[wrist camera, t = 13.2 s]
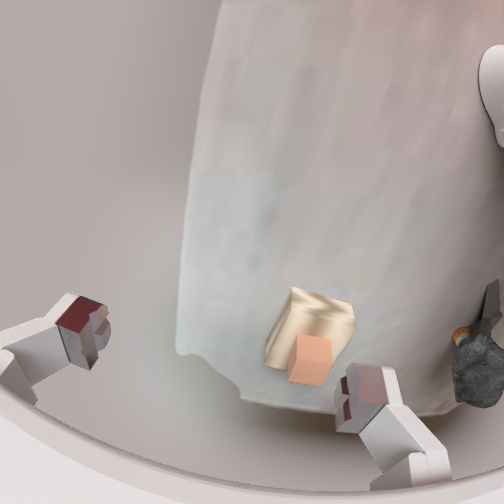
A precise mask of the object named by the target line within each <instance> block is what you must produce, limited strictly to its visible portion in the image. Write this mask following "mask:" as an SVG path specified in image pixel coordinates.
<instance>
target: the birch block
mask: <svg viewBox="0 0 504 504" xmlns="http://www.w3.org/2000/svg"><path fill="white" fill-rule="evenodd" d="M356 329H357V328H356V323H355V319H354V314H353V310H352V306H351V304H348V303H345V302H341V301H338V300H335V299H331V298H328V297H325V296H321V295H318V294H315V293H312V292H308V291H305V290H302V289H299V288H295V287H291V289H290V292H289V294H288V296H287V298H286V300H285V302H284V305H283V307H282V309H281V311H280V313H279V315H278V318H277V320H276V322H275V324H274V326H273V328H272V330H271V332H270V335H269V337H268V339H267V341H266V350H265V358H264V365H266V366H269V367H273V368H277V369H281V370H285V371H288V357H289V354H290V351H291V349H292V346H293V343H294V341H295V338H296V335H297V334H303V335H309V336H315V337H321V338H327V339H330V340H331V349H332V359H333V362H334V361H335V359H336V358H337V357H338V355H339V354H340V352H341V351H342V350H343V348H344V347H345V345H346V344H347V342H348V341H349V339H350V338H351V336H352V335H353V333H354V332H355V330H356Z"/></svg>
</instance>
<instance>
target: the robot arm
mask: <svg viewBox="0 0 504 504" xmlns="http://www.w3.org/2000/svg"><path fill="white" fill-rule="evenodd" d="M479 84H480V91H481V96H482V99H483V102H484V105H485V108H486V110H487V112H488V114H489V116H490V118H491V120H492V122H493V124H494V128H495V134H496V139H497V142H498V144H499V146H500V147H502V148H504V45H495V46H493V47H491V48H489V49H488V50H487V51H486V52H485V54H484V56H483V58H482V60H481V64H480V69H479ZM107 315H108V308H107V306H106V305H104V304H102V303H99V302H96V301H93V300H91V299H88V298H86V297H83V296H80V295H78V294H75V293H73V292H69V293H67V294H65V295H64V297H63V298H62V299H61V300H60V301H59V302H58V303H57V304H56V305H55V306H54V307H53V308H52V309H51V310H50V312H48V314H47V315H46V316H45V317H44V318H40V317H39V318H37V319H34V320H31V321H28V322H26V323H23V324H20V325H17V326H15V327H12V328H9V329H6V330H4V331H1V332H0V504H504V466H503V467H500V468H497V469H494V470H491V471H487V472H484V473H480V474H477V475H473V476H469V477H465V478H460V479H456V480H452V474H451V469H450V464H449V459H448V455H447V450H446V448H445V447H444V446H443V445H442V444H441V443H440V441H439V440H438V439H437V438H436V437H435V436H434V435H433V434H432V433H431V432H430V430H429V429H428V428H427V427H426V426H425V425H424V424H423V423H422V422H421V421H420V419H419V418H418V417H417V416H416V415H415V414H414V413H413V412H412V411H411V410H410V409H409V407H408V406H405V405H403V402H402V398H401V394H400V390H399V385H398V382H397V378H396V374H395V370H394V369H393V368H392V367H383V366H374V365H366V364H357V363H351V364H350V365H349V366H348V368H347V369H346V376H345V377H343V378H341V379H340V381H339V383H338V384H337V387H336V391H335V405H336V406H337V408H338V409H339V411H338V412H337V413H336V415H335V418H336V431H337V432H348V433H360V434H359V436H360V437H361V439H362V440H363V442H364V444H365V445H366V447H367V448H368V450H369V452H370V453H371V455H372V457H373V458H374V460H375V461H376V463H377V465H378V466H379V468H380V469H381V471H382V473H383V475H381V476H379V477H378V478H377V479H375V480H374V481H372V482H371V483H370V491H356V492H326V491H325V492H324V491H303V490H290V489H281V488H272V487H263V486H257V485H250V484H244V483H238V482H233V481H227V480H222V479H218V478H213V477H209V476H205V475H200V474H196V473H192V472H188V471H185V470H181V469H178V468H174V467H171V466H168V465H164V464H161V463H158V462H155V461H152V460H149V459H146V458H143V457H140V456H138V455H135V454H132V453H130V452H127V451H124V450H122V449H119V448H117V447H115V446H112V445H110V444H107V443H105V442H103V441H100V440H98V439H96V438H94V437H91V436H89V435H87V434H85V433H83V432H81V431H79V430H77V429H75V428H73V427H71V426H69V425H67V424H65V423H63V422H61V421H59V420H58V419H56V418H54V417H52V416H51V415H49V414H47V413H45V412H44V411H42V410H40V409H38V408H37V407H35V406H34V405H35V403H36V402H37V396H36V394H35V393H34V391H33V389H32V387H31V386H33V385H34V384H36V383H38V382H40V381H41V380H43V379H45V378H47V377H48V376H50V375H52V374H54V373H55V372H57V371H59V370H60V369H62V368H64V367H65V366H67V365H69V364H70V363H72V364H74V365H77V366H79V367H82V368H84V369H87V370H89V371H90V370H91V368H92V367H93V365H94V364H95V362H96V361H97V359H98V351H100V350H102V349H104V348H105V347H106V345H107V343H108V341H109V338H110V334H111V327H110V323H109V322H108V320H107V319H106V317H107Z"/></svg>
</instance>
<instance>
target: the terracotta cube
mask: <svg viewBox="0 0 504 504" xmlns="http://www.w3.org/2000/svg"><path fill="white" fill-rule="evenodd" d="M332 365H333V359H332V349H331V340H330V339H327V338H321V337H315V336H309V335H303V334H297V335H296V338H295V341H294V343H293V346H292V349H291V351H290V354H289V357H288V378H287V382H293V383H299V384H306V385H314V386H322V384H323V382H324V380H325V378H326V377H327V375H328V373H329V371H330V369H331V367H332Z"/></svg>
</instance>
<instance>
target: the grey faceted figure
mask: <svg viewBox="0 0 504 504" xmlns="http://www.w3.org/2000/svg"><path fill="white" fill-rule="evenodd" d="M502 317H503V314H502V313H501V312H500V301H499V279H498V280H496V281H494V282H492V283H491V284H489V285H487V292H486V299H485V305H484V311H483V316H482V319H481V320H480V321H479V322H477V323H476V324H474V325H472V326H469V327H462V328H459V329H457V330H456V331H455V333H454V334H453V340H454V343H455V344H456V345H457V347H458V348H457V349H456V352H455V355H454V359H453V368H452V373H453V374H452V375H453V383H454V391H455V399H456V402H457V403H460V402H464V401H465V402H466V403H468V404H469V405H471V406H475V407H479V408H488V407H491V406H494V405H495V404H496V403H497V402H498V401H499V399H500V397H501V396H502V393H503V390H504V349H502V348H501V347H499V346H498V345H497V344H496V343H495V342H494V341H493V339H492V338H491V329H492V328H493V327H494V326H495V325H496V324H497V323H498V321H499V320H500V319H501V318H502Z"/></svg>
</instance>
